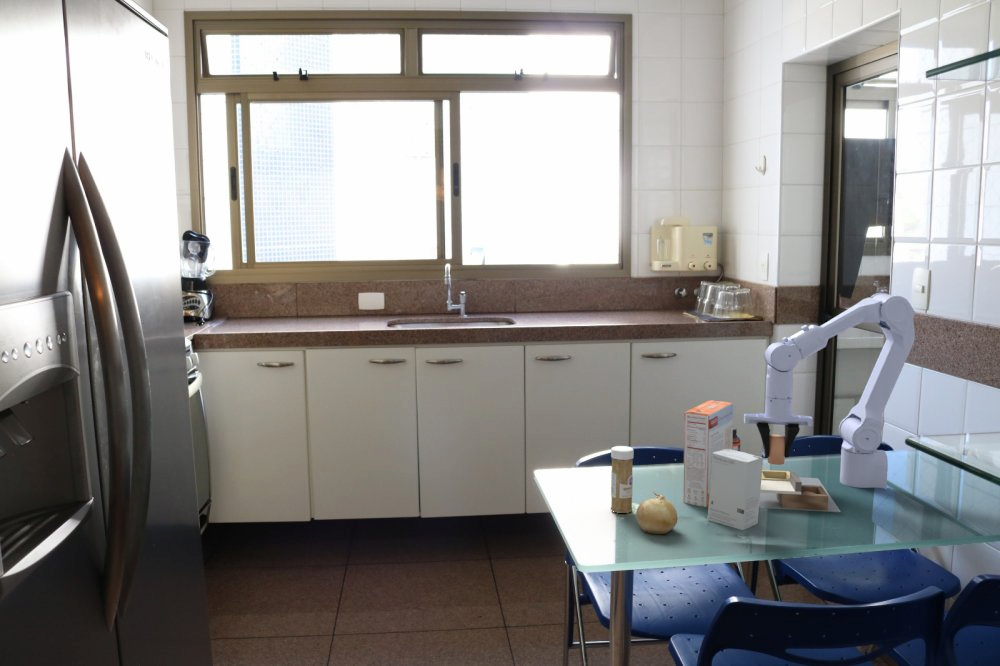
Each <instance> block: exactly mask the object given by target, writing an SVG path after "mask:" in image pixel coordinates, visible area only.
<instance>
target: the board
mask: <svg viewBox="0 0 1000 666" xmlns="http://www.w3.org/2000/svg"><path fill="white" fill-rule="evenodd" d="M798 477H799V476H798ZM799 479H800V480H801V482H802V485H816V486H822V488H823V489H824V491H825V492H826V494H827V495H828V510H808V509H789V508H781V506H780V504H779V502H778V500H777V498H776V494H777V493H761V492H760V502H759V509H768V510H769V509H772V510H773V509H774V510H775V509H776V510H787V511H789V510H790V511H791V510H793V511H809V512H810V511H812V512H829V513H841V512H842V511H841V510H840V509H839V507H838V506H837V503H836V502H835V501H834V499H833V498H832V497H831V495H830V494H829V492H828V491H827V489H826V488H825V486H824V485H823V483H822V482H821V480H820V479H819V478H817V477H801V476H800V477H799ZM761 480H769V481H790V471H789V470H766V469H762V478H761Z"/></svg>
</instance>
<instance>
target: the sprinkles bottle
mask: <svg viewBox="0 0 1000 666" xmlns="http://www.w3.org/2000/svg"><path fill="white" fill-rule="evenodd" d="M610 453H611V454H610V457H611V478H610V479H611V481H610V482H611V484H610V492H611V493H610V496H611V500H610V501H611V504H610V505H611V507H610V511H611V510H612V511H614V512H617V513H616V514H618V513H627V514H630V513H629V512H631V511H632V512H633V487H634V486H633V481H634V480H633V479H634V478H633V460H634V453H635V452H634V449H633V447H630V446H626V445H616V446H613V447H611V452H610ZM612 511H611V512H612ZM614 512H613V513H614ZM632 512H631V513H632Z"/></svg>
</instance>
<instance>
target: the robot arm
mask: <svg viewBox="0 0 1000 666" xmlns="http://www.w3.org/2000/svg"><path fill="white" fill-rule="evenodd" d="M915 314H916V311H915V310H914V308H913V307H912V305H911V303H910V302H909V300H908V299H907V298H906V297H903V296H901V295H892V294H889V293H886V292H876V293H874V294H872V295H871V296H870V297H866V298H863V299H861V300H860V301H858V302H857V303H855V304H854V305H852V306H851V307H849V308H847V309H846V310H844V311H843V312H841V313H839V314H838V315H836V316H834V317H833V318H831V319H829V320H828V321H827V322H825V323H823V324H820V325H816V324H810V325H807V324H804V325H802V326H801V327H800V329H801V330H799V331H797V332H795V333H793V334H792V335H791V336H789V337H787V336H784V337H782V338H781V341H782V342H781V341H780V342H773V343H771V344H770V345H769V346H768V347H767V348H766V349H765V352H764V353H763V359H764V361H765V363H766V364H767V365H766V377H765V379H766V380H765V400H764V401H765V406H764V413H744V414H743V423H744V425H750V424H752V425H753V424H755V425H756V428H757V429H758V432H759V436H760V438H761V442H762V445H763V452H764V456H765V457H766V458H768V457H769V436H770V435H771V429H770V425H777V426H778V425H780V426H781V425H782V426H784V436H785V437H786V441H785V458H789V455H790V451H791V449H792V446H793V444H794V441H795V439H796V438H797V436H798V435H799V432H800V430H801V429H800V426H807V427H813V423H814V421H813V420H814V418H813V416H810V415H798V414H793V394H794V393H793V391H794V390H793V389H794V369H795V368H796V366H797V365H798V364H799V361H803V360H804V359H807V358H808V357H809V356H811V355H814V354H815V353H817V352H818V351H821V350H823V349H824V348H826V347H827V345H828V341H829V339H831V338H833V337H835V336H837V335H839V334H842V333H843V332H845V331H847V330H849V329H852V328H854V327H856V326H857V325H860V324H862V323H869V324H870V323H871V324H873V323H875V324H877V325H878V326H879V328H880V329H881V331H882V332H883V335H884V336H885V342H884V344H883V346H882V349H881V351H880V353H879V356H878V358H877V360H876V363H875V365H874V367H873V369H872V371H871V374H870V376H869V378H868V381H867V383H866V385H865V388H864V390H863V392H862V394H861V396H860V398H859V400H858V403H857V404H856V405H854V406H853V407H852V408H851V409H850V411H849V412H848V414H847V416H845V418H843V419H842V420H841V421H840V423H839V426H838V433H839V434H838V435H839V436H840V438H842V440H843V441H842V444H841V449H840V453H841V454H840V467H839V468H840V471H839V472H840V473H839V483H841V484H842V485H845V486H848V487H852V488H859V489H860V488H861V489H862V488H863V489H865V488H875V489H878V488H879V489H884V490H887V488H888V487H887V486H888V484H887V483H888V471H889V470H888V466H889V462H888V455H887V453H886V451H885V450H883V449H878V448H879V447H880V445H881V443H882V430H883V428H884V426H885V423H884V416H883V413H884V411H885V408H886V405H887V404H888V402H889V400H890V397H891V395H892V393H893V391H894V388H895V386H896V383H897V381H898V379H899V377H900V375H901V373H902V370H903V368H904V366H905V363H906V361H907V359H908V356H909V355H910V353H911V350H912V347H913V345H914V343H915V339H916V334H915V323H914V318H915V317H914V316H915Z"/></svg>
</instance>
